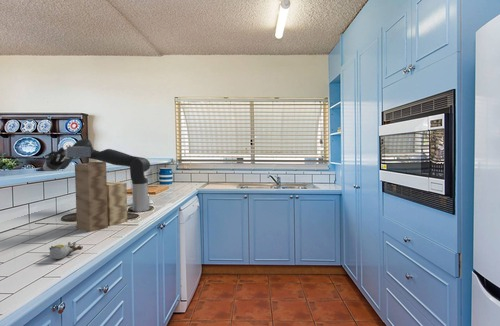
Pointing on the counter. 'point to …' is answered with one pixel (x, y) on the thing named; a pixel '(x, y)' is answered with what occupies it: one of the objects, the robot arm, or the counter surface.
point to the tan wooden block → (116, 203)
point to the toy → (63, 250)
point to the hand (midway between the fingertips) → (66, 148)
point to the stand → (91, 196)
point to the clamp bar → (77, 152)
